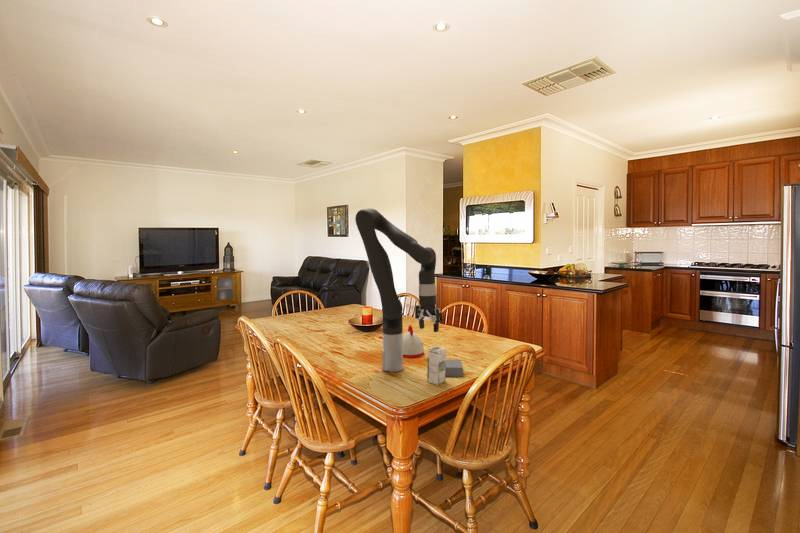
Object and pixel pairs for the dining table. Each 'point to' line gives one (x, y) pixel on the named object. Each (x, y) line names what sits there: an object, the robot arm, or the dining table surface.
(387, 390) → the dining table surface
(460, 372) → the grey block
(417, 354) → the kitchen timer
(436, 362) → the syrup box
